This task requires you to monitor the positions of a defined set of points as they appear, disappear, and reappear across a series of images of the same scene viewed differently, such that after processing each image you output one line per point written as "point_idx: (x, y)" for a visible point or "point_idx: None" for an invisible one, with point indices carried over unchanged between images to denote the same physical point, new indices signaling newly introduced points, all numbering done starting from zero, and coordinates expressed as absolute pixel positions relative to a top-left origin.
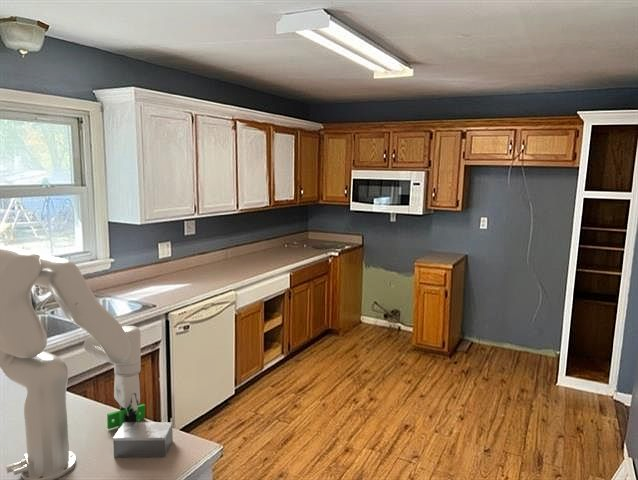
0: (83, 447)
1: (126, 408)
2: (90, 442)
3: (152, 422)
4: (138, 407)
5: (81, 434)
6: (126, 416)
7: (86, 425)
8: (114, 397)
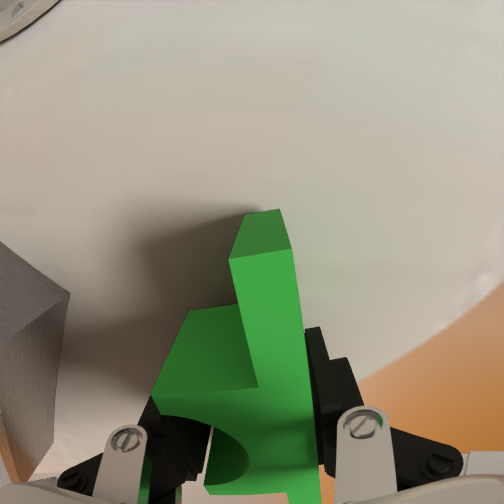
0: (106, 37)
1: (110, 493)
2: (143, 71)
3: (3, 464)
4: (288, 498)
5: (302, 16)
6: (148, 420)
7: (427, 74)
8: (465, 494)
